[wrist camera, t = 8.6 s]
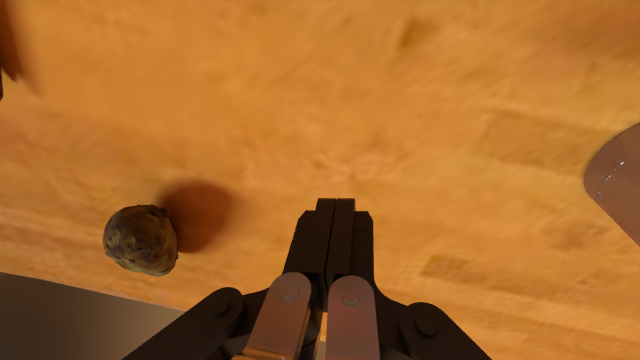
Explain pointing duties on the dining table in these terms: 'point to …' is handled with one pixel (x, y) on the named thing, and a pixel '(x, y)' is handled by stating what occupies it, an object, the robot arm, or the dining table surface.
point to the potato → (142, 240)
